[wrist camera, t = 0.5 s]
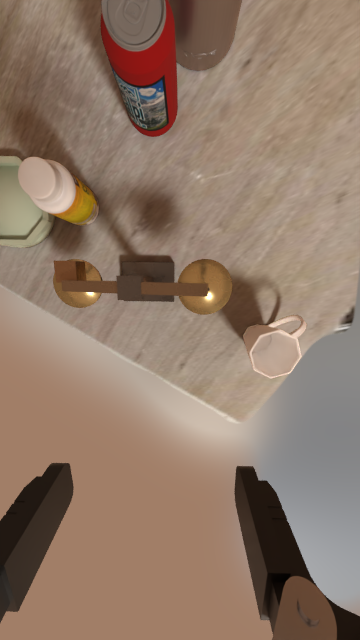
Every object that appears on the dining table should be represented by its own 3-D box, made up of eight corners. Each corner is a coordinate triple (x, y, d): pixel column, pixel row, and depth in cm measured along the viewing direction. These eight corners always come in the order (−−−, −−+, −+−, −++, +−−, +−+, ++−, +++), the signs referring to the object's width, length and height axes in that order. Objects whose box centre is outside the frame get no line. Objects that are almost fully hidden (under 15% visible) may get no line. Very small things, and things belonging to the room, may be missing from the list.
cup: (226, 334, 36) (238, 352, 28) (275, 296, 35) (302, 303, 27) (251, 363, 37) (269, 388, 29) (299, 327, 36) (332, 343, 28)
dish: (-32, 160, 31) (-45, 154, 29) (50, 161, 31) (42, 154, 29) (-16, 247, 34) (-27, 246, 32) (60, 248, 33) (53, 247, 32)
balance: (84, 299, 35) (17, 318, 21) (81, 261, 34) (7, 254, 20) (215, 301, 35) (237, 321, 21) (217, 263, 34) (242, 257, 19)
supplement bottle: (107, 202, 32) (72, 172, 22) (87, 234, 33) (46, 218, 23) (75, 177, 31) (25, 133, 21) (56, 210, 32) (0, 183, 22)
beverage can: (120, 123, 30) (79, 27, 18) (142, 70, 28) (113, -71, 17) (163, 150, 30) (150, 74, 19) (186, 100, 29) (189, -17, 17)
